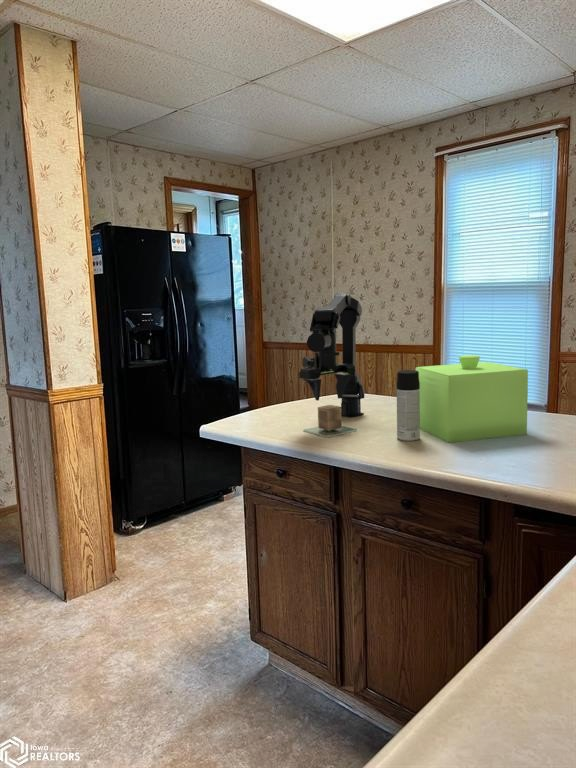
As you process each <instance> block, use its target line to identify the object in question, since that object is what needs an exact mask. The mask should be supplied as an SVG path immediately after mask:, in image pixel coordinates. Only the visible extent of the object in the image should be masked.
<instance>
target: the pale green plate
mask: <svg viewBox="0 0 576 768" xmlns="http://www.w3.org/2000/svg"><path fill="white" fill-rule="evenodd" d="M357 430H358V429H357V428H352V427H349V426H344V425H342V428H339V429H335V430H330V431H328V430H324V429H320V428H318V426H313V427H310V428H304V429H303V432H306V433H308V434H314V435H317V436H320V437H324V438H332V437H333V438H334V437H337V436H341V435H345V434H349V433H354V432H357Z"/></svg>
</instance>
